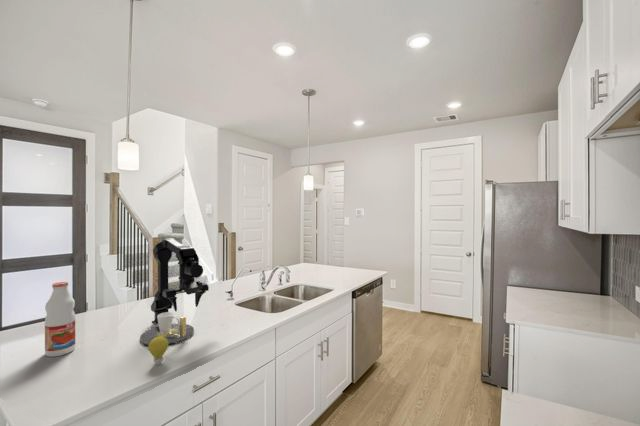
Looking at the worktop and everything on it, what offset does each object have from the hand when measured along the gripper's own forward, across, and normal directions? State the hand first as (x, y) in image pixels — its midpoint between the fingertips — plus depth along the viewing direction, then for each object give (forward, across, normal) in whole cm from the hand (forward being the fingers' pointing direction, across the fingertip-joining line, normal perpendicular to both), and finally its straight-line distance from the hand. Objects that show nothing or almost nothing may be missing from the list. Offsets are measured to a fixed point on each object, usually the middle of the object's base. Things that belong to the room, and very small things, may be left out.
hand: (186, 308), depth 137 cm
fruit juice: (+12, -42, +20) cm, 49 cm away
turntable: (+12, -6, +7) cm, 15 cm away
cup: (+11, -6, +7) cm, 14 cm away
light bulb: (+13, -17, -17) cm, 27 cm away
